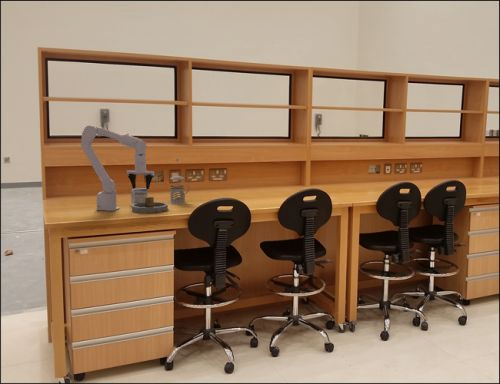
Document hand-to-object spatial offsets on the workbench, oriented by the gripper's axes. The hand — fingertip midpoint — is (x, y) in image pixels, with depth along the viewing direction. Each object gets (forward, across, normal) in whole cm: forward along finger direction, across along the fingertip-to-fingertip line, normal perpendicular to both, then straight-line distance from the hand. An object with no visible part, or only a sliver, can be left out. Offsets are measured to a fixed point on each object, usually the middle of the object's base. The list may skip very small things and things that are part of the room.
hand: (140, 188), depth 256 cm
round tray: (+10, +6, -3) cm, 12 cm away
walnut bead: (+10, +6, -3) cm, 12 cm away
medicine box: (+11, -6, +11) cm, 16 cm away
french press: (+11, +13, +22) cm, 28 cm away
